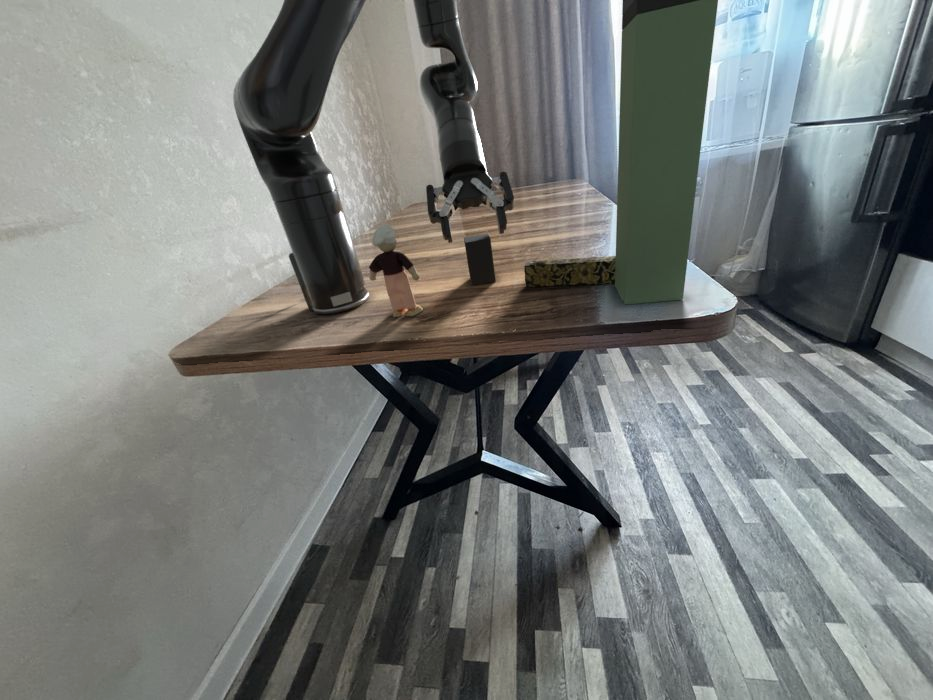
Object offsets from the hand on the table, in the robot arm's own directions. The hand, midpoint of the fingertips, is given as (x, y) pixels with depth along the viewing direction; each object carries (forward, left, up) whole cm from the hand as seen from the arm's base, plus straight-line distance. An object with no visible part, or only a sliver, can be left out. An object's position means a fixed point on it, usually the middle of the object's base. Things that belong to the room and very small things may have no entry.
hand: (476, 235), depth 62 cm
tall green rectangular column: (+25, -9, -7) cm, 28 cm away
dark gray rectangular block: (+1, -2, -7) cm, 7 cm away
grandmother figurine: (-8, -15, -7) cm, 18 cm away
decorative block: (+16, -5, -7) cm, 18 cm away
